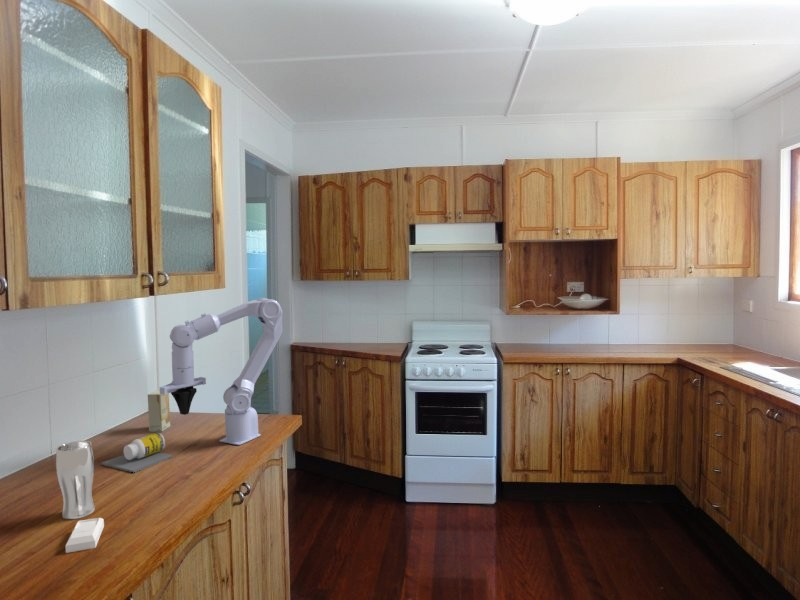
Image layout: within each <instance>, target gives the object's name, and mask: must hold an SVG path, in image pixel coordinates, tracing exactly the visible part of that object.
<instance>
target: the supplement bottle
mask: <svg viewBox="0 0 800 600" xmlns="http://www.w3.org/2000/svg"><path fill="white" fill-rule="evenodd" d="M165 447H166V440H165V437H164V436H163V434H162V433H161V432H152V433H150V434H147V435H144V436H142V437H139V438H136V439H133V440H132V441H131V443H128V444H127V445H125V446H124V447H123V452H122V453H123V455H124V456H125V457H126V459H128V460H131V459H134V458H137V459H141V458H143V457H146V456H149V455H151V454H154V453H157V452H162V451H163V450H164V449H165Z"/></svg>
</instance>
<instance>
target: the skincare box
mask: <svg viewBox="0 0 800 600" xmlns="http://www.w3.org/2000/svg"><path fill="white" fill-rule="evenodd" d="M147 406H148V407H147V411H148V431H149V432H151V433H156V432H158V433H161V432H164V431H165V430H167V429H169V428H170V427H171V412H170V411H171V410H170V409H171V408H170V393H167V394H166V395H163V394H160V389H156V390H154V391H151V392H150V393H148V394H147Z"/></svg>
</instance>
